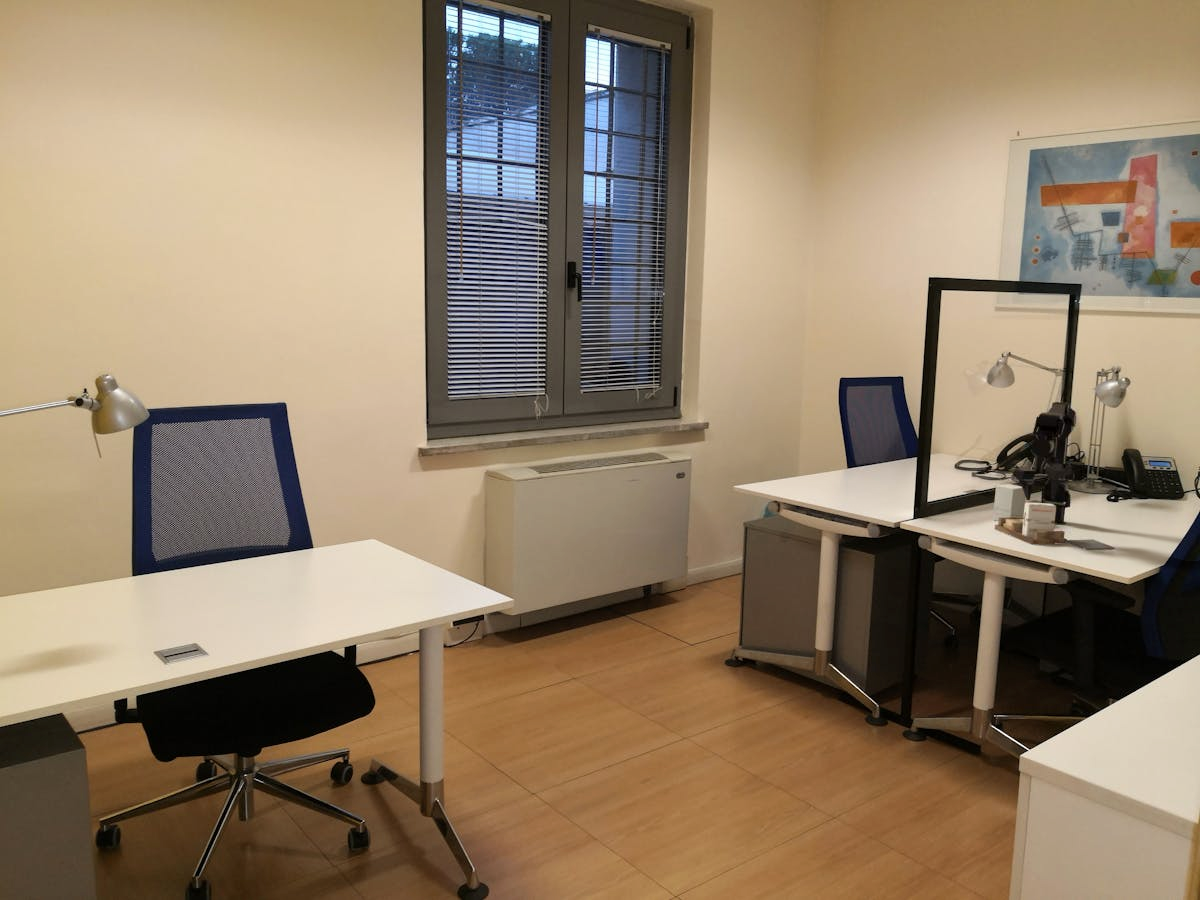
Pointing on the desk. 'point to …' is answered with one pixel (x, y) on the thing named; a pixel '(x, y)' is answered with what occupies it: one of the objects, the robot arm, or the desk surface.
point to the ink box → (1038, 518)
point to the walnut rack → (1015, 528)
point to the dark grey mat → (1090, 544)
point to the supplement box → (1008, 501)
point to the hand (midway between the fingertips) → (1040, 500)
